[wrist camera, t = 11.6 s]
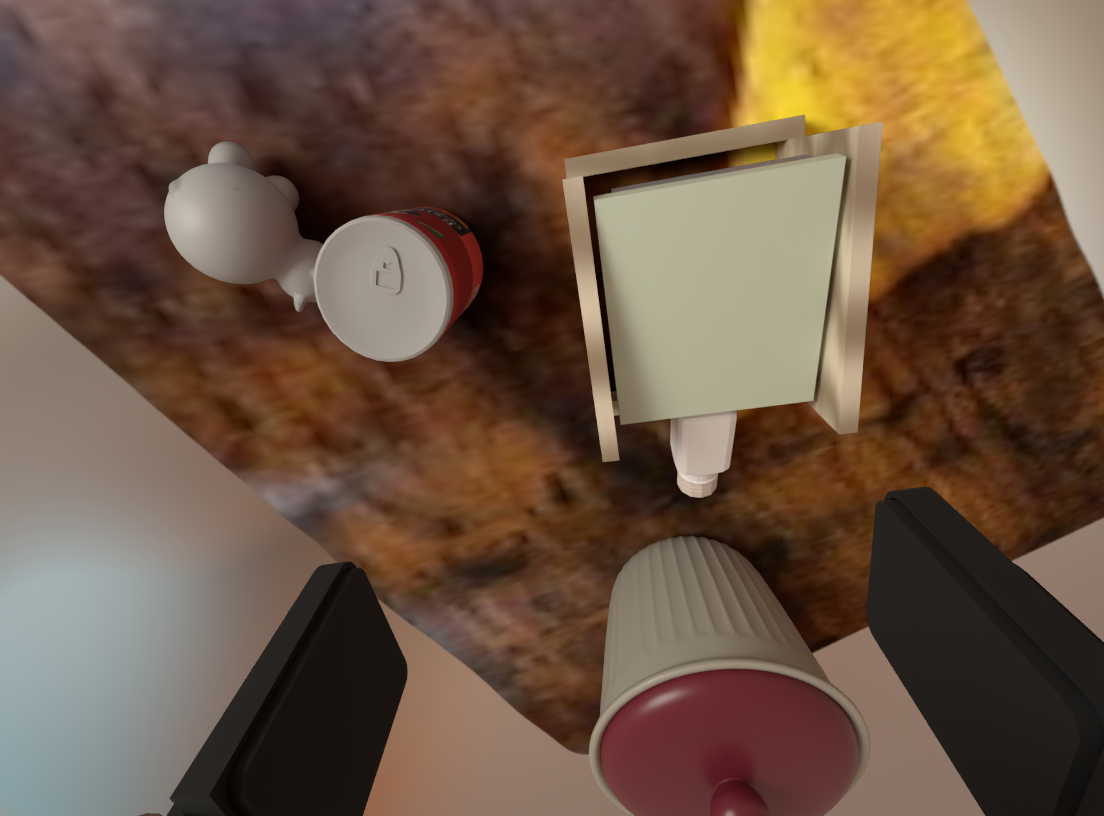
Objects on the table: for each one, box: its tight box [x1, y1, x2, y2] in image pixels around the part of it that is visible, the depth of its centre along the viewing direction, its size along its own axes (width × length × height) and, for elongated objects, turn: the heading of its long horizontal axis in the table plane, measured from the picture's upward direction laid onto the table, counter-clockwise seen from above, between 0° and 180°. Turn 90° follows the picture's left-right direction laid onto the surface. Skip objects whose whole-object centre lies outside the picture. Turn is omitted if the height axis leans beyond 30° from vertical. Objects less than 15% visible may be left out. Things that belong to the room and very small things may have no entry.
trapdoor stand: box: [563, 115, 883, 462], centre depth 32 cm, size 18×15×11 cm
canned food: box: [314, 207, 483, 362], centre depth 33 cm, size 8×8×11 cm
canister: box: [589, 536, 870, 816], centre depth 39 cm, size 18×18×21 cm
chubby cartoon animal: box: [164, 142, 324, 312], centre depth 34 cm, size 7×12×8 cm, turn 43°
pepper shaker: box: [670, 410, 737, 498], centre depth 39 cm, size 4×4×10 cm
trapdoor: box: [593, 153, 846, 425], centre depth 30 cm, size 14×12×2 cm
